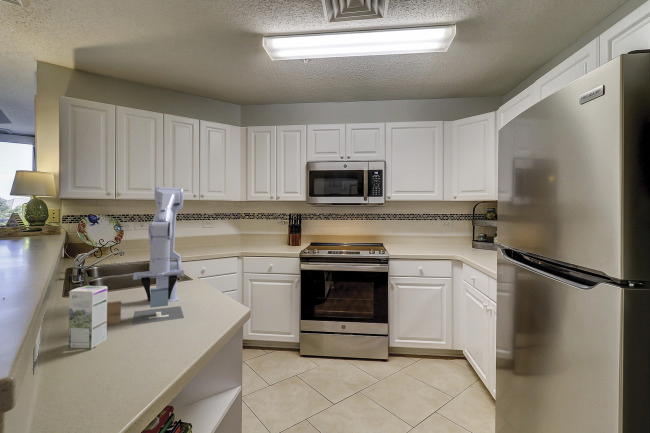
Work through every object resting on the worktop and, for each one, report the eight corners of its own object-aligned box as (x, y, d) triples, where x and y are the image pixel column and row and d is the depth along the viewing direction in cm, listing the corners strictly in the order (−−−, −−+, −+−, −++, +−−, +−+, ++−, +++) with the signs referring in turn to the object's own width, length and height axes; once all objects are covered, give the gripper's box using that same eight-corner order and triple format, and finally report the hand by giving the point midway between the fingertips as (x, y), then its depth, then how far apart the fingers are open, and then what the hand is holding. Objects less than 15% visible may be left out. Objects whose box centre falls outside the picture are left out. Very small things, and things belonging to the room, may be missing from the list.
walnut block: (101, 322, 93) (101, 302, 93) (120, 319, 95) (121, 300, 95) (98, 327, 88) (99, 307, 88) (119, 324, 91) (119, 304, 91)
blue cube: (150, 303, 100) (150, 288, 100) (167, 301, 103) (167, 286, 103) (150, 307, 96) (150, 291, 96) (167, 305, 98) (168, 290, 98)
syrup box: (107, 340, 80) (108, 285, 80) (91, 350, 74) (92, 290, 74) (85, 340, 80) (86, 284, 80) (66, 349, 74) (68, 290, 74)
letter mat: (134, 312, 102) (134, 311, 102) (180, 307, 109) (180, 306, 109) (132, 326, 90) (132, 324, 90) (184, 319, 97) (184, 317, 97)
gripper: (133, 261, 92) (132, 305, 92) (185, 258, 100) (184, 300, 99) (134, 258, 98) (133, 299, 98) (183, 256, 106) (182, 295, 106)
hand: (159, 299), depth 99 cm, fingers closed on blue cube, 5 cm apart
